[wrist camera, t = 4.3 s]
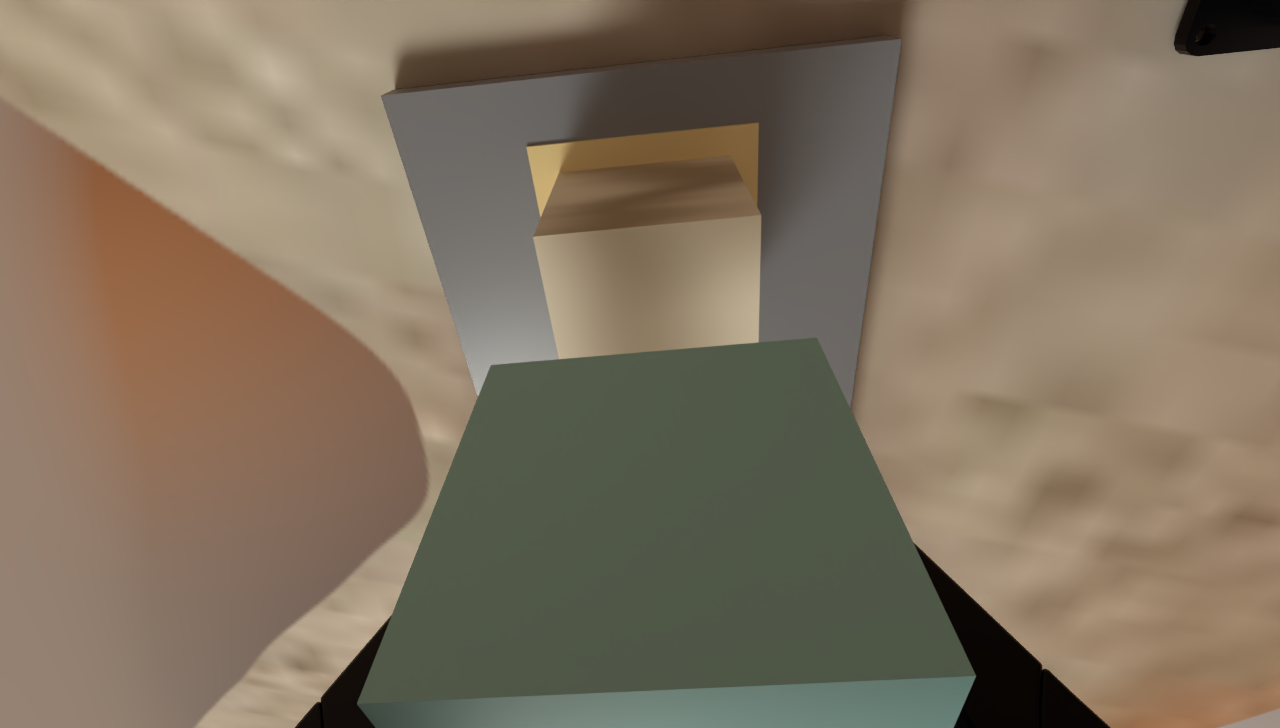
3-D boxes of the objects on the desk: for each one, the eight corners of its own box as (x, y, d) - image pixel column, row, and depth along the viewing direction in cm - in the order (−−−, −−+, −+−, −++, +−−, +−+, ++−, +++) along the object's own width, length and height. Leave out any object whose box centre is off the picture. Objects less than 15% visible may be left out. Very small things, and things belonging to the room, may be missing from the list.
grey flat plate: (887, 35, 16) (903, 39, 15) (826, 522, 27) (832, 540, 26) (393, 89, 16) (379, 96, 16) (533, 541, 28) (529, 560, 27)
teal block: (816, 337, 9) (977, 676, 4) (799, 550, 11) (886, 879, 7) (490, 364, 9) (357, 702, 5) (552, 565, 12) (501, 887, 8)
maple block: (730, 155, 16) (760, 215, 12) (731, 307, 19) (757, 398, 15) (559, 172, 17) (532, 236, 13) (584, 320, 20) (570, 413, 15)
